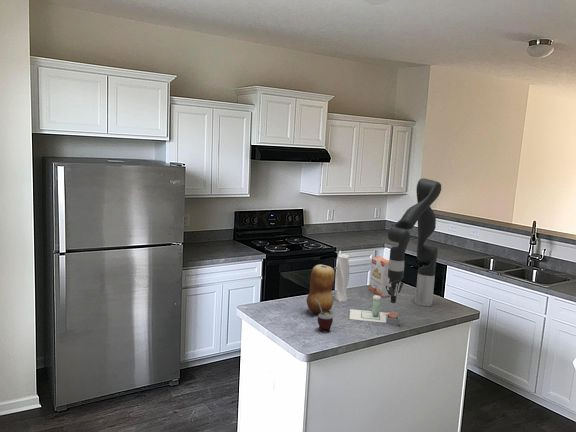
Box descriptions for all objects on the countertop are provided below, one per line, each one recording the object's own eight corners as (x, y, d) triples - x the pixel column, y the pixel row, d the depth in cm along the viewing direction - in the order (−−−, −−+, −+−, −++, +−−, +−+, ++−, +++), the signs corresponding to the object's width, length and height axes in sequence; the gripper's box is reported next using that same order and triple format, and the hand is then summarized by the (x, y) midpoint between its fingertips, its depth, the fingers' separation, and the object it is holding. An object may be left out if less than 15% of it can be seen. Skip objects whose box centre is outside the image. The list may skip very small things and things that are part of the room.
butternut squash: (330, 319, 235) (333, 270, 232) (303, 316, 238) (306, 267, 234) (333, 310, 249) (336, 263, 245) (308, 307, 251) (311, 261, 248)
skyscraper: (331, 299, 266) (334, 250, 262) (342, 298, 270) (345, 249, 265) (338, 303, 259) (341, 253, 255) (350, 302, 262) (353, 253, 258)
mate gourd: (335, 330, 222) (337, 299, 219) (324, 334, 216) (326, 303, 214) (322, 325, 227) (324, 295, 224) (311, 329, 221) (313, 298, 219)
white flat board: (349, 310, 250) (349, 303, 250) (397, 314, 246) (397, 308, 246) (348, 320, 234) (348, 314, 234) (399, 326, 231) (400, 319, 230)
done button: (388, 317, 236) (388, 311, 236) (396, 318, 236) (396, 312, 235) (388, 320, 232) (389, 314, 232) (396, 320, 232) (397, 315, 231)
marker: (371, 314, 243) (373, 294, 241) (379, 315, 242) (380, 295, 241) (371, 316, 239) (373, 297, 237) (379, 317, 238) (381, 297, 237)
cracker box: (368, 290, 287) (371, 256, 284) (377, 289, 289) (380, 256, 286) (381, 297, 274) (384, 262, 271) (390, 296, 276) (393, 261, 273)
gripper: (395, 272, 223) (392, 307, 226) (410, 267, 232) (407, 301, 235) (381, 269, 228) (379, 303, 231) (396, 264, 237) (393, 297, 240)
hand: (393, 302), depth 233 cm, fingers closed
